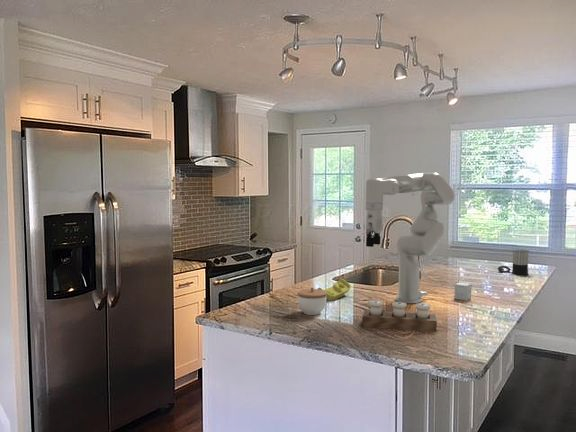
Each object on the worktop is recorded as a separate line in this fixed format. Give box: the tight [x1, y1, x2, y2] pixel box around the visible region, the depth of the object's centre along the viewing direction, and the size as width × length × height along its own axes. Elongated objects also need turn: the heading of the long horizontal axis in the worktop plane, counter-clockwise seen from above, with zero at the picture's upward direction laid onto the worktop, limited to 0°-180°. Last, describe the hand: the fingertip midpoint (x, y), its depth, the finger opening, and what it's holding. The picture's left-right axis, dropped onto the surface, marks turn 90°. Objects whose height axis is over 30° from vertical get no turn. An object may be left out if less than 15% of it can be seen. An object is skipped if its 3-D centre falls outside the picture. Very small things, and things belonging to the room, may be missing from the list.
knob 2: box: [391, 301, 408, 317], centre depth 192 cm, size 6×6×5 cm
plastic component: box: [317, 278, 352, 302], centre depth 242 cm, size 20×7×10 cm
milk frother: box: [497, 248, 530, 276], centre depth 302 cm, size 14×16×15 cm
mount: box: [361, 309, 438, 332], centre depth 192 cm, size 28×10×4 cm, turn 76°
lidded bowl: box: [297, 287, 327, 316], centre depth 211 cm, size 13×13×11 cm
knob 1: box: [368, 300, 384, 316], centre depth 194 cm, size 6×6×5 cm
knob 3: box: [415, 302, 431, 319], centre depth 190 cm, size 6×6×5 cm
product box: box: [454, 281, 472, 302], centre depth 236 cm, size 6×6×7 cm
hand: (373, 245), depth 215 cm, fingers open, 9 cm apart
